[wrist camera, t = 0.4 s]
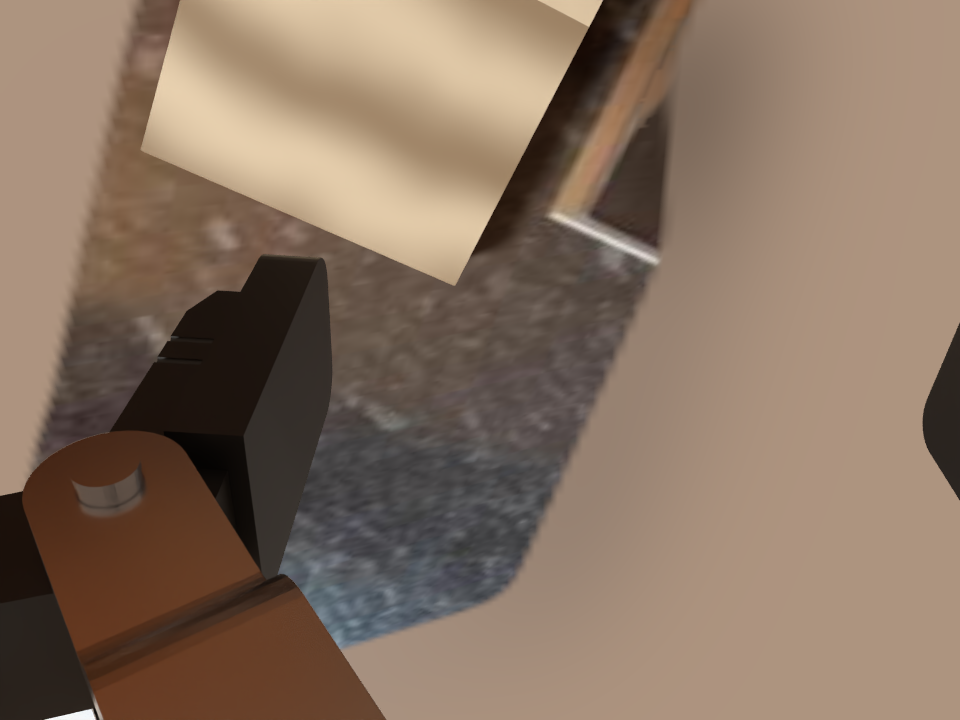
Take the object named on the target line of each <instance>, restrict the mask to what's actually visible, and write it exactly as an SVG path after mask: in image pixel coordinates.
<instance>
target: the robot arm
mask: <svg viewBox="0 0 960 720" xmlns="http://www.w3.org/2000/svg"><path fill="white" fill-rule="evenodd" d="M331 386H332V351H331V333H330V315H329V297H328V280H327V270H326V265H325V261H324V259H323V258H317V257H301V256H285V255H269V254H263V255H261V256H260V258H259V259H258V261H257V263H256V265H255V267H254V268H253V270H252V272H251V274H250V276H249V277H248V279H247V281H246V283H245V285H244V286H243V288H242V290H241V292H233V291H216V292H215V293H213V294H212V295H210V296H209V297H207V298H206V299H204V300H203V301H201V302H200V303H198V304H197V305H195V306H194V307H192V308H191V309H189V310H188V311H186V313H185V315H184V316H183V318H182V319H181V321H180V322H179V324H178V326H177V327H176V329H175V330H174V332H173V333H172V335H171V341H167V343H166V344H165V346H164V348H163V349H162V351H161V352H160V354H159V355H158V361H157V362H154V363H153V365H152V366H151V368H150V369H149V371H148V373H147V374H146V376H145V377H144V379H143V380H142V382H141V384H140V385H139V387H138V388H137V390H136V391H135V393H134V394H133V396H132V398H131V399H130V401H129V402H128V404H127V405H126V407H125V409H124V410H123V412H122V413H121V415H120V416H119V418H118V420H117V421H116V423H115V424H114V426H113V427H112V429H111V431H110V432H109V433H103V434H98V435H95V436H91V437H87V438H85V439H82V440H79V441H76V442H74V443H72V444H70V445H68V446H66V447H64V448H62V449H60V450H58V451H57V452H55V453H54V454H52V455H51V456H49V457H48V458H47V459H46V460H44V461H43V462H42V463H41V464H40V465H39V466H38V467H37V468H36V469H35V470H34V471H33V472H32V474H31V475H30V477H29V478H28V480H27V482H26V484H25V487H24V489H23V491H22V492H17V493H12V494H7V495H3V496H0V720H45V719H49V718H53V717H58V716H62V715H66V714H71V713H75V712H80V711H84V710H88V709H92V711H93V714H94V717H95V719H96V720H386V718H385V717H384V716H383V714H382V712H381V711H380V709H379V708H378V706H377V705H376V703H375V702H374V700H373V699H372V697H371V696H370V694H369V693H368V691H367V690H366V688H365V687H364V685H363V684H362V682H361V681H360V679H359V678H358V676H357V675H356V673H355V672H354V670H353V669H352V667H351V666H350V664H349V662H348V661H347V660H346V658H345V656H344V655H343V653H342V652H341V650H340V649H339V647H338V646H337V644H336V643H335V641H334V640H333V638H332V637H331V635H330V634H329V632H328V631H327V629H326V628H325V626H324V625H323V623H322V622H321V620H320V619H319V617H318V616H317V614H316V613H315V611H314V610H313V608H312V606H311V605H310V603H309V602H308V600H307V599H306V597H305V596H304V594H303V593H302V592H301V590H300V589H299V587H298V586H297V585H296V584H295V583H294V582H293V580H291V579H290V578H289V577H288V576H286V575H284V574H279V575H277V574H278V571H279V568H280V564H281V561H282V558H283V555H284V551H285V548H286V545H287V542H288V538H289V535H290V532H291V529H292V525H293V522H294V519H295V516H296V512H297V509H298V506H299V503H300V499H301V496H302V493H303V489H304V486H305V483H306V480H307V476H308V473H309V470H310V467H311V463H312V460H313V457H314V454H315V450H316V447H317V444H318V441H319V437H320V434H321V431H322V428H323V424H324V421H325V418H326V414H327V411H328V407H329V402H330V395H331ZM923 434H924V439H925V443H926V445H927V448H928V450H929V452H930V454H931V455H932V457H933V458H934V460H935V462H936V463H937V465H938V466H939V468H940V470H941V471H942V472H943V474H944V476H945V478H946V479H947V481H948V482H949V484H950V485H951V487H952V489H953V490H954V492H955V493H956V495H957V497H958V498H959V500H960V324H959V326H958V328H957V331H956V333H955V335H954V338H953V340H952V342H951V345H950V347H949V349H948V352H947V354H946V356H945V359H944V361H943V363H942V366H941V368H940V370H939V373H938V375H937V378H936V380H935V382H934V384H933V387H932V389H931V391H930V394H929V396H928V399H927V401H926V404H925V408H924V413H923Z"/></svg>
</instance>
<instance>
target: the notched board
mask: <svg viewBox="0 0 960 720" xmlns="http://www.w3.org/2000/svg"><path fill="white" fill-rule="evenodd" d="M602 1H603V0H180V3H179V7H178V11H177V15H176V18H175V22H174V26H173V30H172V34H171V37H170V41H169V45H168V49H167V52H166V56H165V60H164V64H163V68H162V71H161V75H160V79H159V83H158V87H157V90H156V94H155V98H154V102H153V105H152V109H151V113H150V117H149V121H148V124H147V128H146V132H145V136H144V139H143V143H142V147H141V151H143V152H146V153H148V154H150V155H153V156H155V157H157V158H159V159H162V160H164V161H166V162H169V163H171V164H173V165H176V166H178V167H180V168H183V169H185V170H187V171H190V172H192V173H194V174H197V175H199V176H201V177H204V178H206V179H208V180H210V181H213V182H215V183H217V184H220V185H222V186H224V187H227V188H229V189H231V190H234V191H236V192H238V193H241V194H243V195H245V196H248V197H250V198H252V199H254V200H257V201H259V202H261V203H264V204H266V205H268V206H271V207H273V208H275V209H278V210H280V211H282V212H285V213H287V214H289V215H292V216H294V217H296V218H299V219H301V220H303V221H305V222H308V223H310V224H312V225H315V226H317V227H319V228H322V229H324V230H326V231H329V232H331V233H333V234H336V235H338V236H340V237H343V238H345V239H347V240H349V241H352V242H354V243H356V244H359V245H361V246H363V247H366V248H368V249H370V250H373V251H375V252H377V253H380V254H382V255H384V256H387V257H389V258H391V259H393V260H396V261H398V262H400V263H403V264H405V265H407V266H410V267H412V268H414V269H417V270H419V271H421V272H424V273H426V274H428V275H431V276H433V277H435V278H438V279H440V280H442V281H444V282H447V283H449V284H451V285H454V286H455V285H456V283H457V281H458V279H459V277H460V275H461V273H462V271H463V269H464V267H465V265H466V263H467V261H468V260H469V258H470V256H471V254H472V252H473V250H474V248H475V246H476V244H477V242H478V240H479V238H480V236H481V234H482V233H483V231H484V229H485V227H486V225H487V223H488V221H489V219H490V217H491V215H492V213H493V211H494V209H495V207H496V206H497V204H498V202H499V200H500V198H501V196H502V194H503V192H504V190H505V188H506V186H507V184H508V182H509V181H510V179H511V177H512V175H513V173H514V171H515V169H516V167H517V165H518V163H519V161H520V159H521V157H522V155H523V154H524V152H525V150H526V148H527V146H528V144H529V142H530V140H531V138H532V136H533V134H534V132H535V130H536V128H537V127H538V125H539V123H540V121H541V119H542V117H543V115H544V113H545V111H546V109H547V107H548V105H549V103H550V101H551V100H552V98H553V96H554V94H555V92H556V90H557V88H558V86H559V84H560V82H561V80H562V78H563V76H564V75H565V73H566V71H567V69H568V67H569V65H570V63H571V61H572V59H573V57H574V55H575V53H576V51H577V49H578V48H579V46H580V44H581V42H582V40H583V38H584V36H585V34H586V32H587V30H588V28H589V26H590V24H591V22H592V21H593V19H594V17H595V15H596V13H597V11H598V9H599V7H600V5H601V3H602Z"/></svg>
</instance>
